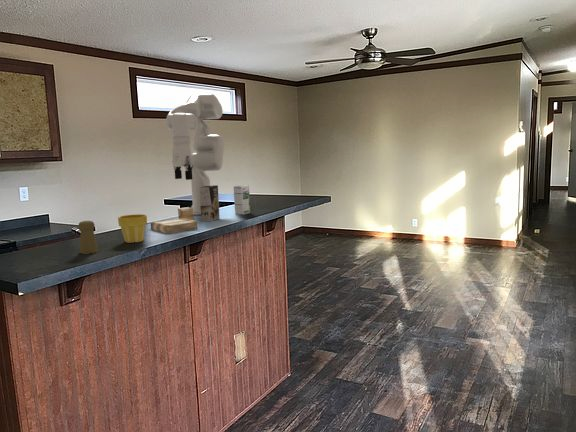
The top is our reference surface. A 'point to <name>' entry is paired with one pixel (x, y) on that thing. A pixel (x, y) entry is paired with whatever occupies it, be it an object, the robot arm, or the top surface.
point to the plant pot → (133, 227)
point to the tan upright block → (186, 213)
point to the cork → (87, 237)
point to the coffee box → (209, 203)
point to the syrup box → (242, 199)
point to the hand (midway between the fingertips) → (183, 179)
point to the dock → (174, 225)
